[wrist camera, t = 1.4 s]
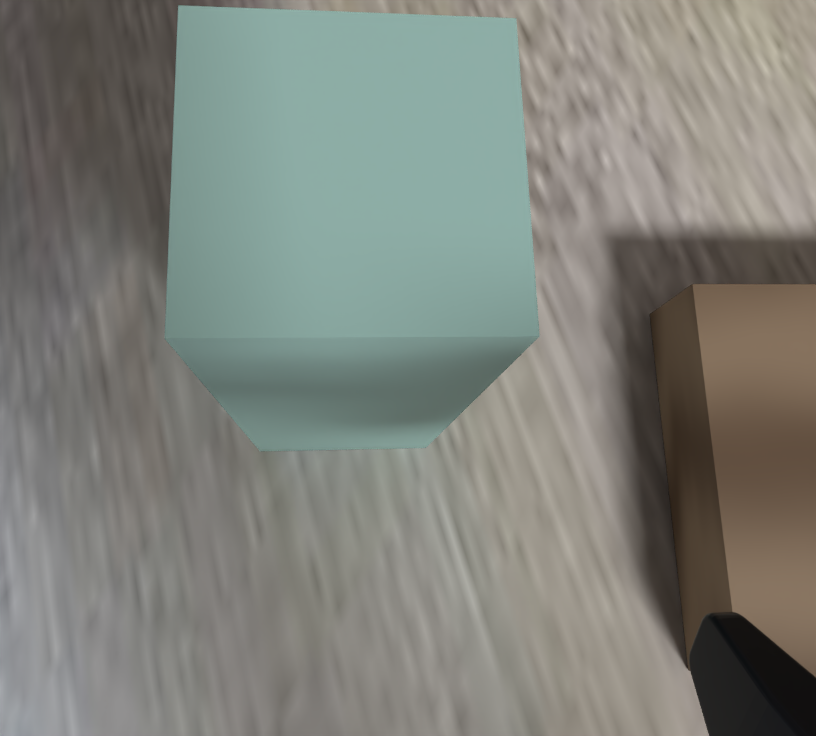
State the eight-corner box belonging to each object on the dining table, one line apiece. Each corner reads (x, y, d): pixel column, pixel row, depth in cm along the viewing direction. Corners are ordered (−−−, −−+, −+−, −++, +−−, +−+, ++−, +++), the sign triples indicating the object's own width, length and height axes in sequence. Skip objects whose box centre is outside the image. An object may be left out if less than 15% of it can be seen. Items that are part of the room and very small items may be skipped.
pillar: (425, 447, 23) (539, 336, 10) (260, 451, 22) (164, 338, 10) (419, 292, 24) (515, 18, 11) (261, 292, 23) (178, 5, 11)
